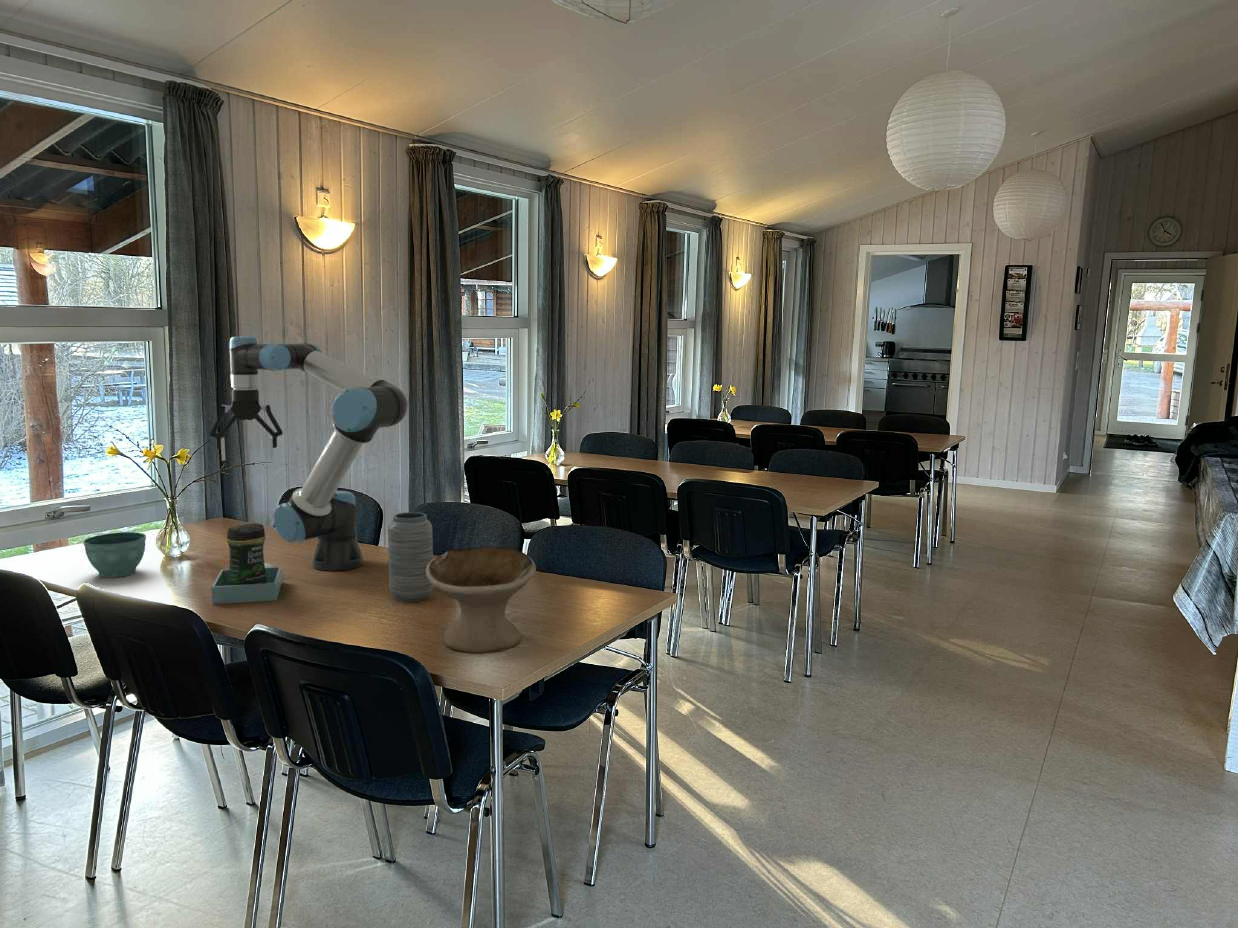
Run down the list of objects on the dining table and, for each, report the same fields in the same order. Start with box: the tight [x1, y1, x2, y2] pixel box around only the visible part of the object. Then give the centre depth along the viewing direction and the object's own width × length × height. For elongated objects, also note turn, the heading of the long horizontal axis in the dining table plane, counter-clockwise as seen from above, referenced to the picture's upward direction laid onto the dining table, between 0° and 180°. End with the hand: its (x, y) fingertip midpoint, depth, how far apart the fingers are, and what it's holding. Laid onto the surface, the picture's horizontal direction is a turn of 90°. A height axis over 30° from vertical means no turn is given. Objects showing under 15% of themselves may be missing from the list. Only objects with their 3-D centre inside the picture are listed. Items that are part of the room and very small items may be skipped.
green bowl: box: [82, 531, 147, 579], centre depth 273 cm, size 16×16×11 cm
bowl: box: [426, 546, 537, 654], centre depth 219 cm, size 26×25×20 cm
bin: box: [211, 566, 283, 605], centre depth 256 cm, size 16×18×5 cm
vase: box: [387, 511, 434, 604], centre depth 252 cm, size 12×12×23 cm
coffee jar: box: [226, 522, 267, 586], centre depth 255 cm, size 10×8×19 cm
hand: (247, 459), depth 281 cm, fingers open, 13 cm apart
